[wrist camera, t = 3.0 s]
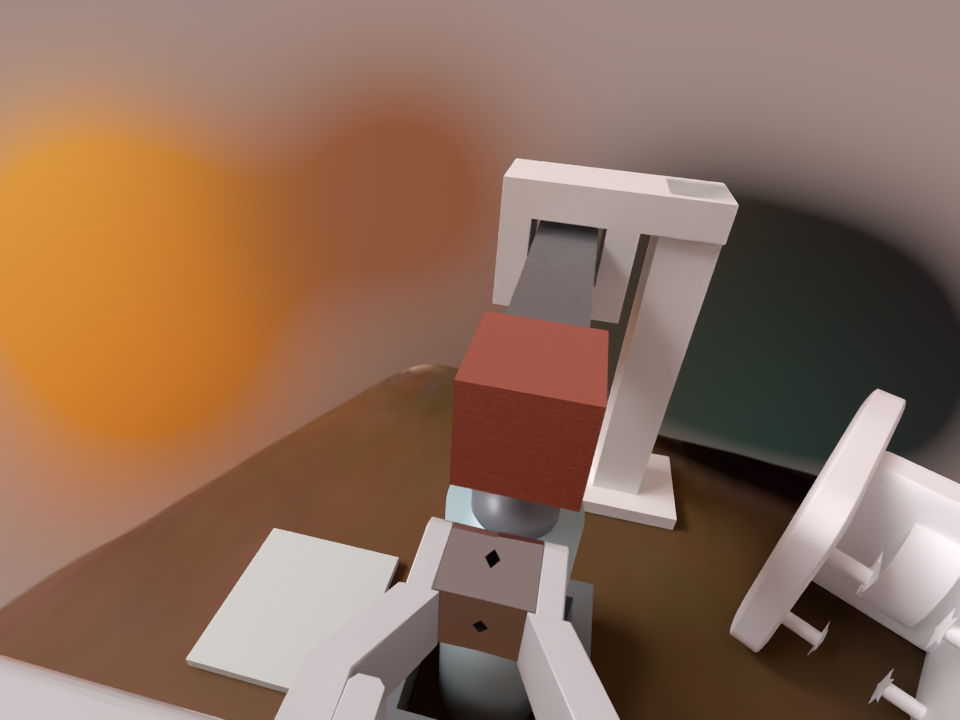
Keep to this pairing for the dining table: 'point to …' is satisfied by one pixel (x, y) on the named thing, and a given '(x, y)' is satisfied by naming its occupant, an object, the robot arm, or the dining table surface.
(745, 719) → the dining table surface
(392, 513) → the dining table surface
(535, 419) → the bolt
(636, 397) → the stand
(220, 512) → the dining table surface
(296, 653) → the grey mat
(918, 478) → the cable organizer
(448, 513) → the pale blue bottle
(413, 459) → the dining table surface
